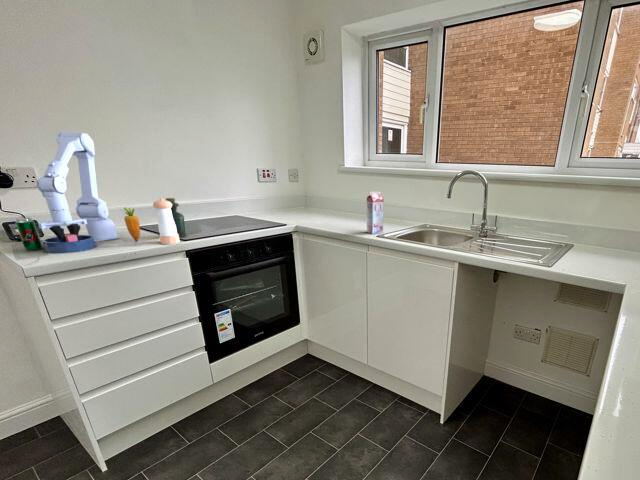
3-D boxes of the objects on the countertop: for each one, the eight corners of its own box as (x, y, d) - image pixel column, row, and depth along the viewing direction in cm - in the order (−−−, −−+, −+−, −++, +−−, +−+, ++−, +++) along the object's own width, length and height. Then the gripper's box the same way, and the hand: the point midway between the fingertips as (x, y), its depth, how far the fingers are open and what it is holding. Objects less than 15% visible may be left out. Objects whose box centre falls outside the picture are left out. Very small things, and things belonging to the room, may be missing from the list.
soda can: (46, 248, 141) (36, 218, 136) (33, 251, 136) (22, 220, 131) (35, 247, 141) (24, 217, 137) (21, 250, 136) (10, 219, 132)
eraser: (71, 245, 144) (68, 233, 142) (80, 247, 142) (76, 234, 140) (62, 246, 141) (58, 234, 140) (71, 248, 139) (67, 236, 137)
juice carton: (383, 232, 196) (383, 192, 188) (372, 233, 192) (372, 192, 184) (376, 230, 201) (377, 191, 193) (366, 231, 197) (366, 191, 189)
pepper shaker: (177, 244, 155) (168, 199, 148) (158, 244, 153) (148, 199, 146) (181, 240, 161) (173, 197, 155) (163, 241, 159) (154, 197, 153)
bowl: (82, 242, 151) (80, 233, 150) (104, 247, 146) (101, 237, 144) (37, 249, 138) (34, 239, 137) (58, 254, 133) (55, 244, 131)
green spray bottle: (169, 239, 164) (161, 199, 157) (166, 236, 170) (158, 197, 163) (189, 237, 169) (182, 198, 162) (185, 234, 174) (178, 197, 168)
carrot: (146, 240, 159) (138, 207, 153) (135, 242, 154) (126, 208, 149) (138, 239, 160) (130, 206, 155) (127, 241, 156) (118, 207, 150)
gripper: (40, 212, 129) (53, 248, 134) (87, 208, 141) (96, 242, 146) (30, 210, 131) (43, 246, 136) (77, 207, 144) (86, 240, 149)
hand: (70, 244), depth 141 cm, fingers closed on eraser, 3 cm apart
